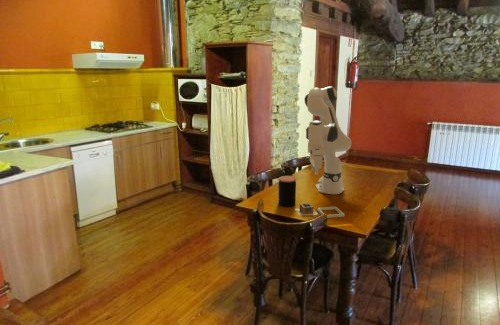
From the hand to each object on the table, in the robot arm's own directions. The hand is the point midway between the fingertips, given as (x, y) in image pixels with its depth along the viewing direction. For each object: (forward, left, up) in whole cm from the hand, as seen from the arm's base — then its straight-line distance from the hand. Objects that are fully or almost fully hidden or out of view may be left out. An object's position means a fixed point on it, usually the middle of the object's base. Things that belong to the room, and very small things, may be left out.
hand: (315, 172), depth 204 cm
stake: (0, -5, -25) cm, 25 cm away
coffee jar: (-14, -13, -25) cm, 31 cm away
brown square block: (0, -5, -24) cm, 24 cm away
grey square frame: (+5, +8, -25) cm, 27 cm away
